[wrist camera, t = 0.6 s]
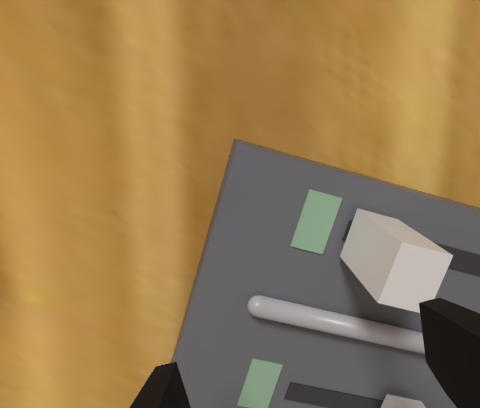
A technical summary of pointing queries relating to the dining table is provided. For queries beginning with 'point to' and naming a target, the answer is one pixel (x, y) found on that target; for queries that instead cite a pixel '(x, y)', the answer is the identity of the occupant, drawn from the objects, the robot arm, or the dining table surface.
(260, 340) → the slider control panel
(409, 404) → the block
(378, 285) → the breaker
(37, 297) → the dining table surface
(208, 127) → the dining table surface
